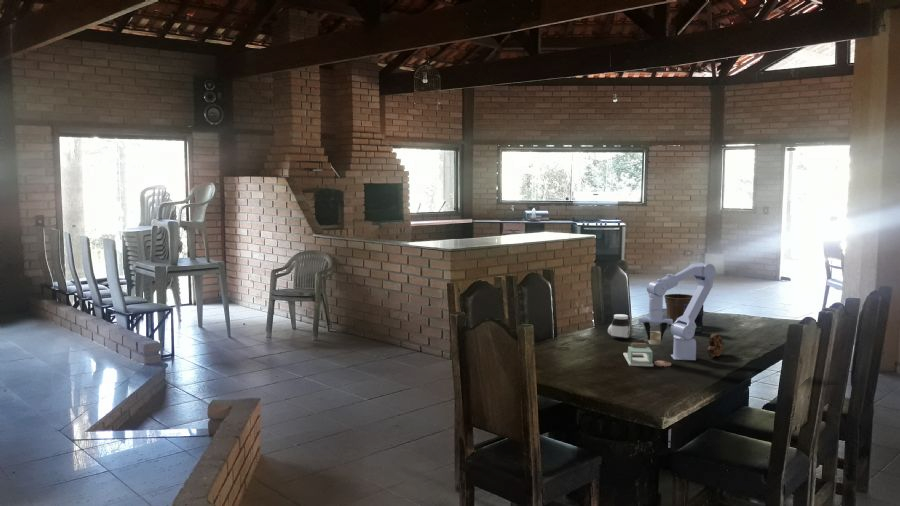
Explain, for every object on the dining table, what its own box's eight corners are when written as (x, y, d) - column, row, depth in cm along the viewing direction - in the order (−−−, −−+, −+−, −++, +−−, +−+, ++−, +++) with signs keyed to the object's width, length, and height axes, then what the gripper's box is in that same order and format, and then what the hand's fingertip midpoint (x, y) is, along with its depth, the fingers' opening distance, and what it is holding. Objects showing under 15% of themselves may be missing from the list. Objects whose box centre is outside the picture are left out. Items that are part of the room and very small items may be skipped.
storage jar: (705, 335, 374) (706, 306, 372) (685, 335, 374) (687, 306, 372) (699, 331, 384) (700, 303, 382) (680, 330, 384) (681, 302, 382)
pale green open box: (648, 358, 321) (649, 343, 320) (652, 363, 312) (652, 347, 311) (627, 357, 322) (628, 342, 321) (630, 363, 313) (631, 347, 312)
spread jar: (623, 341, 360) (624, 317, 359) (602, 338, 367) (602, 315, 365) (633, 336, 369) (633, 314, 368) (612, 334, 376) (613, 311, 375)
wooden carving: (717, 360, 321) (718, 338, 320) (706, 359, 324) (707, 337, 323) (724, 353, 335) (725, 331, 334) (714, 352, 338) (715, 330, 337)
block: (658, 342, 323) (659, 331, 322) (660, 344, 318) (661, 333, 318) (648, 342, 323) (648, 330, 323) (650, 344, 319) (650, 333, 318)
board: (645, 355, 332) (645, 353, 331) (653, 366, 312) (653, 364, 312) (623, 354, 333) (623, 352, 332) (629, 365, 313) (629, 363, 313)
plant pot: (662, 327, 394) (663, 297, 392) (663, 321, 409) (664, 293, 407) (694, 329, 389) (695, 299, 387) (693, 323, 404) (695, 294, 403)
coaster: (669, 362, 318) (669, 360, 318) (672, 366, 311) (672, 365, 311) (652, 362, 319) (653, 360, 319) (655, 366, 312) (655, 364, 312)
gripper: (671, 307, 322) (670, 338, 323) (637, 307, 324) (636, 337, 325) (674, 310, 315) (673, 341, 316) (639, 309, 317) (638, 340, 318)
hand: (654, 339), depth 320 cm, fingers closed on block, 4 cm apart
